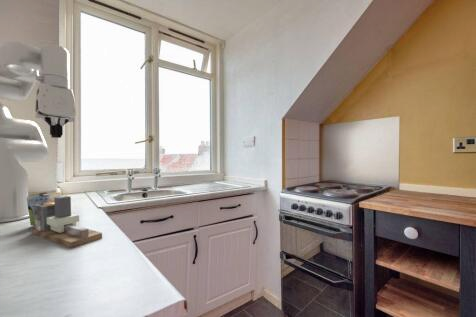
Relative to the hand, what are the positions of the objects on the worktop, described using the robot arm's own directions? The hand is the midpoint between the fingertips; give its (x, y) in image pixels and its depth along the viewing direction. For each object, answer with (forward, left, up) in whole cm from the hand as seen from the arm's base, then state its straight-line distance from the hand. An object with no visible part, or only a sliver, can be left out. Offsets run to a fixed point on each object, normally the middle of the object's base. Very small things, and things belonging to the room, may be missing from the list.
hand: (56, 137), depth 76 cm
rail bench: (+12, -3, -31) cm, 33 cm away
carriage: (+11, -3, -29) cm, 31 cm away
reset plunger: (+3, -3, -24) cm, 25 cm away
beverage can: (-8, -2, -31) cm, 32 cm away
